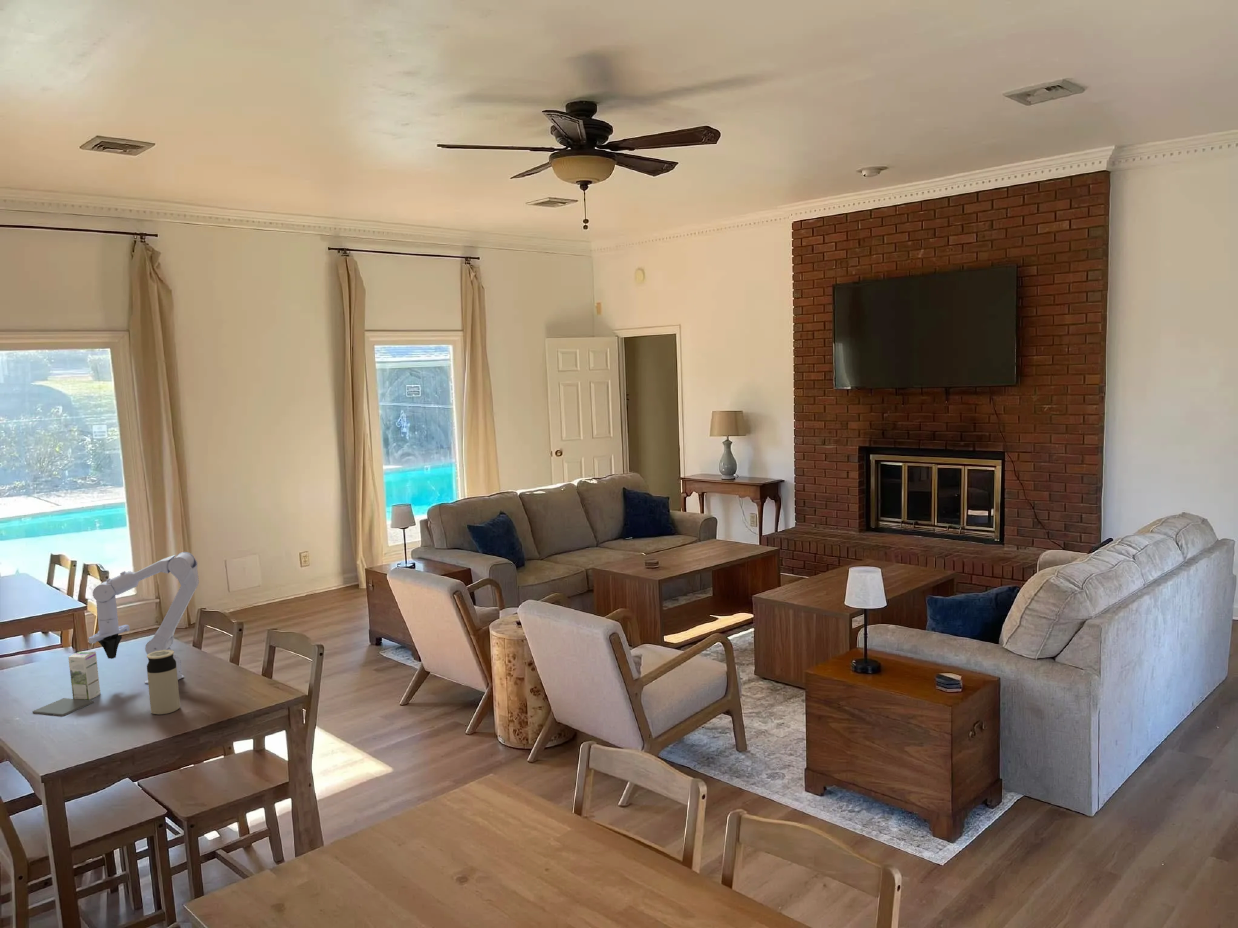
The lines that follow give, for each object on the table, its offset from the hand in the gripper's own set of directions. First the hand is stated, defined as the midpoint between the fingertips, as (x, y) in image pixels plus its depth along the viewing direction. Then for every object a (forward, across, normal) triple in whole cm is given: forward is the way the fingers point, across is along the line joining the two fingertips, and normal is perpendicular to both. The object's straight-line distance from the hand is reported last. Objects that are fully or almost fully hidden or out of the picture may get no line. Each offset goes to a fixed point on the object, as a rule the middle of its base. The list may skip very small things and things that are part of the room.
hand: (111, 657), depth 294 cm
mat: (+9, +20, 0) cm, 22 cm away
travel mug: (+10, +15, +35) cm, 39 cm away
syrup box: (+10, +11, 0) cm, 15 cm away
